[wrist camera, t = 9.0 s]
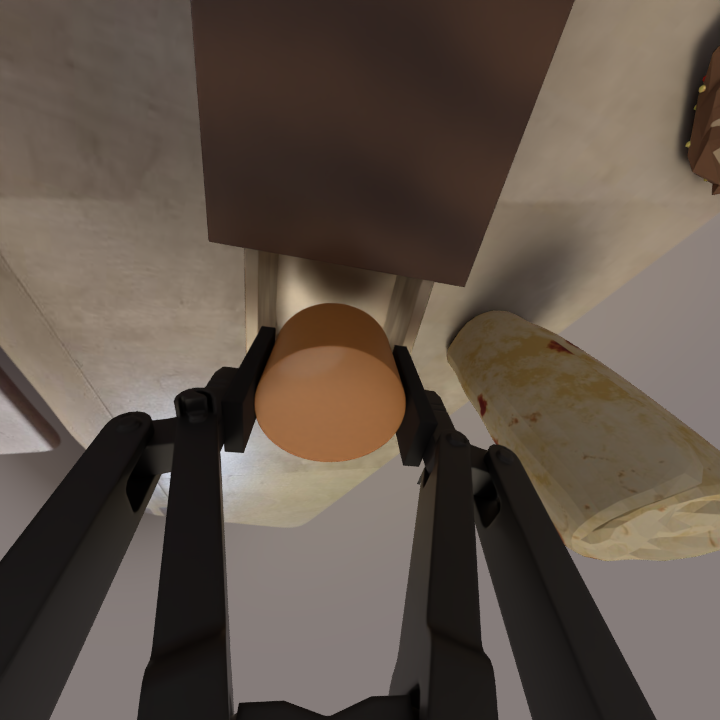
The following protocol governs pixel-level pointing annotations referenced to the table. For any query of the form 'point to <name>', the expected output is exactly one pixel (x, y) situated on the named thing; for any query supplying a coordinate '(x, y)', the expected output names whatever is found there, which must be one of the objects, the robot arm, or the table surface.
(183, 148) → the table surface
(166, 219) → the table surface
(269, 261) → the drawer
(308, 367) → the orange cylinder puck
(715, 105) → the donut
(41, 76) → the table surface
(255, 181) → the cabinet
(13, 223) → the table surface
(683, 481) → the food model
